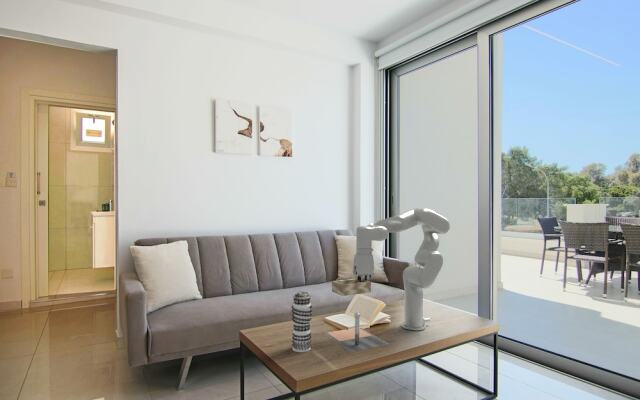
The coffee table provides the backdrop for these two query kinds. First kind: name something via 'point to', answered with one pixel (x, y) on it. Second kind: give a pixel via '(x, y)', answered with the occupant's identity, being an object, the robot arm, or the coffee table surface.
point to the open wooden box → (351, 287)
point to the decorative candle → (301, 322)
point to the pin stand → (356, 338)
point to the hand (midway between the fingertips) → (363, 288)
